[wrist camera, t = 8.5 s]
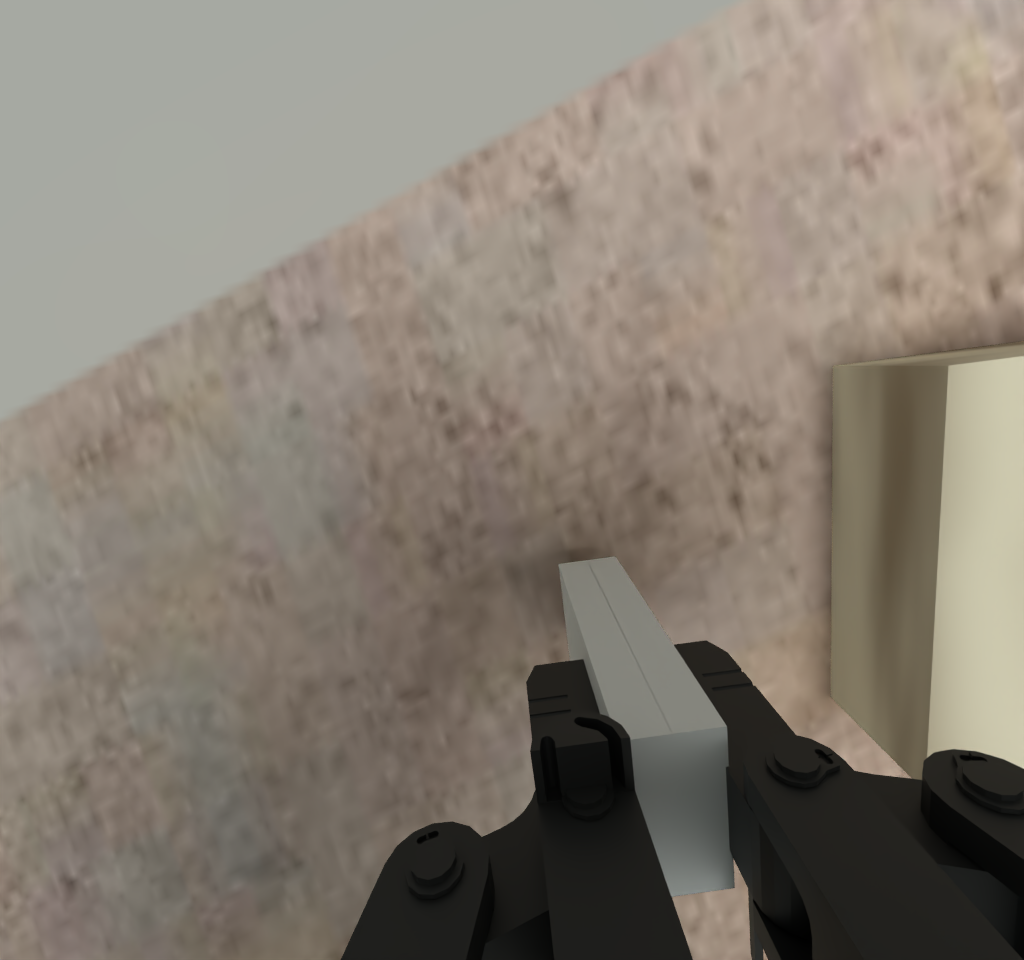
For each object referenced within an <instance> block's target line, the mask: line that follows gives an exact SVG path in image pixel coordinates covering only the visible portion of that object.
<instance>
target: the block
mask: <svg viewBox="0 0 1024 960" xmlns="http://www.w3.org/2000/svg"><path fill="white" fill-rule="evenodd" d="M831 698H832V699H833V700H834V701H835V702H836V703H837V704H838V705H839V706H840V707H841V708H842V709H843V710H844V711H845V712H846V713H847V714H848V715H849V716H850V717H851V718H852V719H853V720H854V721H855V722H856V723H857V724H858V725H859V726H860V727H861V728H862V729H863V730H864V731H865V732H866V733H867V734H868V735H869V736H870V737H871V738H872V739H873V740H874V741H875V742H876V743H877V744H878V745H879V746H880V747H881V748H882V749H883V750H884V751H885V752H886V753H887V754H888V755H889V756H890V757H891V758H892V759H893V760H894V761H895V762H896V763H897V764H898V765H899V766H900V767H901V768H902V769H903V770H904V771H905V772H906V773H907V774H908V775H909V776H910V777H911V778H912V779H918V780H922V771H923V762H924V760H925V759H926V758H928V757H929V756H930V755H931V754H933V753H934V752H938V751H944V750H950V749H958V750H968V751H977V752H981V753H984V754H988V755H991V756H995V757H998V758H1001V759H1004V760H1006V761H1009V762H1011V763H1013V764H1015V765H1017V766H1019V767H1021V768H1023V769H1024V341H1021V342H1013V343H1006V344H998V345H990V346H982V347H975V348H967V349H959V350H952V351H944V352H936V353H929V354H921V355H913V356H905V357H898V358H890V359H882V360H875V361H867V362H859V363H851V364H844V365H836V366H833V414H832V566H831Z"/></svg>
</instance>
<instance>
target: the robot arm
mask: <svg viewBox="0 0 1024 960" xmlns="http://www.w3.org/2000/svg"><path fill="white" fill-rule="evenodd" d="M559 573H560V581H561V590H562V598H563V607H564V616H565V624H566V633H567V641H568V650H569V658H570V661H565V662H558V663H551V664H543V665H536V666H534V668H533V670H532V672H531V674H530V676H529V678H528V680H527V682H526V684H527V694H528V703H529V713H530V722H531V732H532V745H531V751H530V752H531V759H532V766H533V774H534V781H535V788H536V790H535V792H534V795H533V798H532V801H531V802H530V803H529V805H528V806H527V808H526V809H525V811H524V812H523V813H522V814H521V815H520V816H518V817H517V818H516V819H515V820H514V821H513V822H511V823H509V824H508V825H506V826H504V827H502V828H501V829H499V830H496V831H494V832H492V833H490V834H488V835H486V836H483V837H481V836H480V835H479V834H478V833H477V832H475V831H474V830H473V829H472V828H471V827H470V826H466V825H463V824H459V823H455V822H444V823H434V824H431V825H429V826H426V827H424V828H422V829H420V830H417V831H415V832H413V833H412V834H411V835H410V836H408V837H407V838H406V839H405V840H404V841H402V842H401V843H400V844H399V845H398V846H397V847H396V848H395V850H394V851H393V853H392V854H391V856H390V857H389V859H388V860H387V862H386V863H385V865H384V867H383V869H382V872H381V874H380V876H379V878H378V880H377V882H376V885H375V887H374V889H373V891H372V893H371V895H370V898H369V900H368V902H367V904H366V906H365V908H364V911H363V913H362V915H361V917H360V919H359V922H358V924H357V926H356V928H355V930H354V932H353V935H352V937H351V939H350V941H349V943H348V945H347V948H346V950H345V952H344V954H343V956H342V958H341V960H693V959H692V956H691V953H690V950H689V947H688V944H687V941H686V938H685V935H684V932H683V930H682V927H681V924H680V921H679V918H678V915H677V912H676V909H675V906H674V903H673V900H672V897H673V896H680V895H688V894H695V893H702V892H709V891H716V890H723V889H731V888H735V887H734V866H733V858H734V860H735V862H736V864H737V866H738V868H739V870H740V872H741V874H742V876H743V878H744V881H745V883H746V885H747V887H748V895H749V920H750V945H751V956H752V960H763V949H764V951H765V953H766V956H767V958H768V960H1024V769H1023V768H1021V767H1019V766H1017V765H1015V764H1013V763H1011V762H1009V761H1006V760H1004V759H1001V758H998V757H995V756H991V755H988V754H984V753H981V752H977V751H968V750H958V749H950V750H944V751H938V752H934V753H933V754H931V755H930V756H929V757H928V758H926V759H925V760H924V762H923V771H922V780H918V779H909V778H900V777H892V776H883V775H874V774H868V773H863V772H858V771H854V770H853V769H852V768H851V767H850V766H849V765H848V764H847V762H846V761H845V760H843V759H842V758H841V757H840V756H839V755H837V754H836V753H835V752H834V751H833V750H831V749H830V748H828V747H826V746H824V745H822V744H820V743H818V742H816V741H814V740H812V739H809V738H805V737H801V736H797V735H795V733H794V732H793V731H792V730H791V729H790V727H789V726H788V725H787V724H786V723H785V721H784V720H783V719H782V718H781V717H780V715H779V714H778V713H777V712H776V710H775V709H774V708H773V707H772V706H771V704H770V703H769V702H768V701H767V700H766V698H765V697H764V696H763V695H762V694H761V692H760V691H759V690H758V689H757V688H756V686H753V684H752V681H751V680H750V679H749V678H748V677H747V675H746V674H745V673H744V672H742V671H741V668H740V667H739V666H738V665H737V663H736V662H735V661H734V660H733V659H732V657H731V656H730V655H729V654H728V653H727V652H726V651H724V650H722V649H720V648H719V647H717V646H715V645H713V644H712V643H710V642H708V641H699V642H691V643H684V644H677V645H673V643H672V642H671V640H670V639H669V637H668V636H667V634H666V633H665V631H664V629H663V628H662V626H661V625H660V623H659V622H658V620H657V619H656V617H655V616H654V614H653V613H652V611H651V610H650V608H649V607H648V605H647V603H646V602H645V600H644V599H643V597H642V596H641V594H640V593H639V591H638V590H637V588H636V587H635V585H634V584H633V582H632V581H631V579H630V578H629V576H628V574H627V573H626V571H625V570H624V568H623V567H622V565H621V564H620V562H619V561H618V559H617V558H616V556H614V557H607V558H599V559H592V560H585V561H577V562H570V563H562V564H559Z"/></svg>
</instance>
